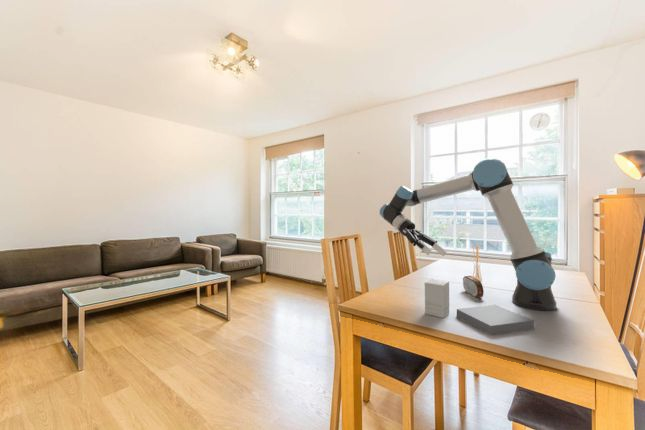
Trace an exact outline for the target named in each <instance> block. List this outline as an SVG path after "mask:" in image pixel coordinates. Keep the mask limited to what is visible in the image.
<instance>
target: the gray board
mask: <svg viewBox="0 0 645 430" xmlns="http://www.w3.org/2000/svg"><path fill="white" fill-rule="evenodd" d="M456 317H457V318H458V319H461V321H464V322H465V323H468V324H470V325H471V326H472V327H473V326H474V327H475V328H478V329H479V330H481V331H483V332H485V333H487V334H489V335H490V336H493V335H499V334H507V333H514V332H521V331H528V330H534V329H535V319H532V318H530V317H526V316H524V315H522V314H519V313H518V312H515V311H512V310H509V309H507V308H505V307H501V306H499V305H497V304H490V305H483V306H482V305H481V306H472V307H471V306H470V307H463V308H457V309H456Z"/></svg>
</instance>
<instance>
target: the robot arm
mask: <svg viewBox="0 0 645 430" xmlns="http://www.w3.org/2000/svg"><path fill="white" fill-rule="evenodd" d="M513 186H514V183H513V181H512V179H511V177H510V175H509V172H508V168H507V167H506V165H505V163H504V162H503V161H502V160H500V159H498V158H485V159H483V160H481V161H479V162H478V163H477V164H475V166H474V168H473V170H471V171H470V172H469V174H466V175H462V176H460V177H456V178H453V179H449V180H446V181H442V182H439V183H435V184H433V185H428V186H426V187H422V188H418V189H414V190H412V189H410V188H409V187H407V186H405V185H401V186H400V187H398V189H397V190H396V192H395V193H394V195H393V197H392V198H391V200H390V202H389V203H385V204H383V205H382V206H381V207H380V209H379V215H380V216H381V218H382V219H383V220H385V221H386V222H388V223H389V225H391V226H392V227H394V228H395V229H394V230H395V231H398V232H399V233H400V234H401V235H402V236H404V237H406V239H407V240H408V241H409V243H410V244H412V246H413V247H418V249H420V250H421V251H422V252H423V253H425V255H427V256H429V255H430V253H432V251H433V250H434V251H436V252H437V253H438V254H439V255H441V256H442V257H444V256H445V255H446V253H448V251H447V250H446V249H445V248H443V247H442V246H441V245H439V244H438V241H437V240H435V239H433V238H432V237H430V236H429V235H427V234H425V233H424V232H423V231H421V230H419V229H416V224H415V223H414V222H413V221H411V219H409V218H408V217H407V216H405V215H404V214H402V212H403V211H404V209H405V207H414V206H417V205H420V204H424V203H427V202H432V201H435V200H439V199H444V198H446V197H450V196H454V195H459V194H462V193H466V192H469V191H470V192H471V191H475V192H478V191H479V192H480V194H481V195H482V197H484V198H486V199H488V201H489V203H490V206H491V209H492V210H493V213H494V214H495V218H496V219H497V222H498V225H499V226H500V228H501V231H502V234H503V236H504V238H505V239H506V242H507V244H508V247H509V249H510V251H511V254H510V256H509V260H510V262H511V263H512V267H513V268H514V271H515V277H516V281H517V282H516V286H515V290H513V294H512V296H511V300H512V303H513V304H514V305H517V306H520V307H522V308H527V309H530V310H537V311H554V310H556V309H557V301H556V300H555V295H554V294H553V293H554V292H553V291H552V285H553V284H554V282H555V279H556V277H557V276H556V271H555V269H554V268H553V266H552V261H553V258H552V254H551V252H548V251H547V252H546V251H545V250H544V249H543V248H540V247H538V246H537V243H536V241H535V239H534V237H533V235H532V232H531V230H530V227H529V226H528V224H527V222H526V220H525V217H524V215H523V213H522V211H521V208H520V206H519V204H518V202H517V200H516V197H515V195H514V193H513V191H512V188H513ZM428 245H429V246H430V247H431V248H430V247H429V246H428ZM432 248H433V249H432Z"/></svg>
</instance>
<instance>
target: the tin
mask: <svg viewBox="0 0 645 430" xmlns="http://www.w3.org/2000/svg"><path fill="white" fill-rule="evenodd" d="M462 285H463V289H464V291H465V292H466V294H469V295H470V296H471V297H473V298H474V299H477V298H479V299H480V298H483V296H484V294H485V293H484V286H483V284H482V282H481V280H479V279H478V278H476V277H474V276H472V275H466V276H464V277H463V278H462Z"/></svg>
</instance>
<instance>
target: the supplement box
mask: <svg viewBox="0 0 645 430" xmlns="http://www.w3.org/2000/svg"><path fill="white" fill-rule="evenodd" d="M424 314H426V315H430V316H434V317H438V318H442V319H444V318H445V317H446V316H448V315H449V314H450V281H445V280H439V279H435V278H433V279H432V278H431V279H428V280H427V281H426V282H424Z"/></svg>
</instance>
